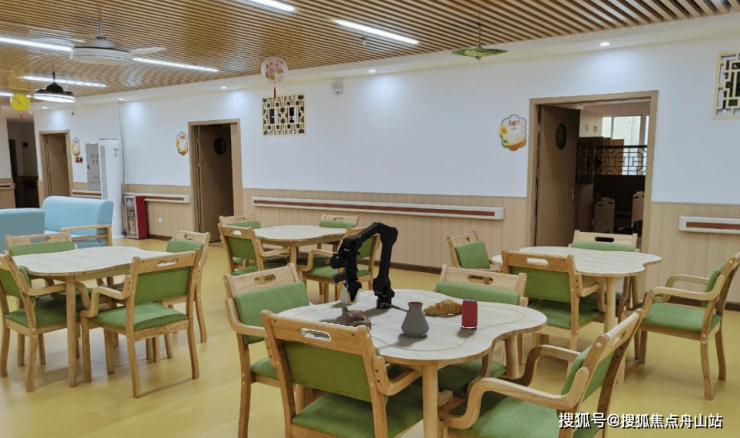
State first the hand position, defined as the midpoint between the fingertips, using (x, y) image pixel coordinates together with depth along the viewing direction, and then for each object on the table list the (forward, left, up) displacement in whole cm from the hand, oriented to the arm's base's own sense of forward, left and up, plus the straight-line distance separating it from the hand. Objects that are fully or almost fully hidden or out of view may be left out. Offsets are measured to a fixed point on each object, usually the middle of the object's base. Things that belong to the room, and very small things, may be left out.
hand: (351, 300), depth 249 cm
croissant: (-44, +1, -9) cm, 45 cm away
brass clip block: (0, 0, -1) cm, 1 cm away
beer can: (-46, +24, -9) cm, 53 cm away
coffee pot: (-16, +29, -9) cm, 34 cm away
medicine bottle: (-4, -26, -9) cm, 28 cm away
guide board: (-1, +7, -8) cm, 11 cm away
